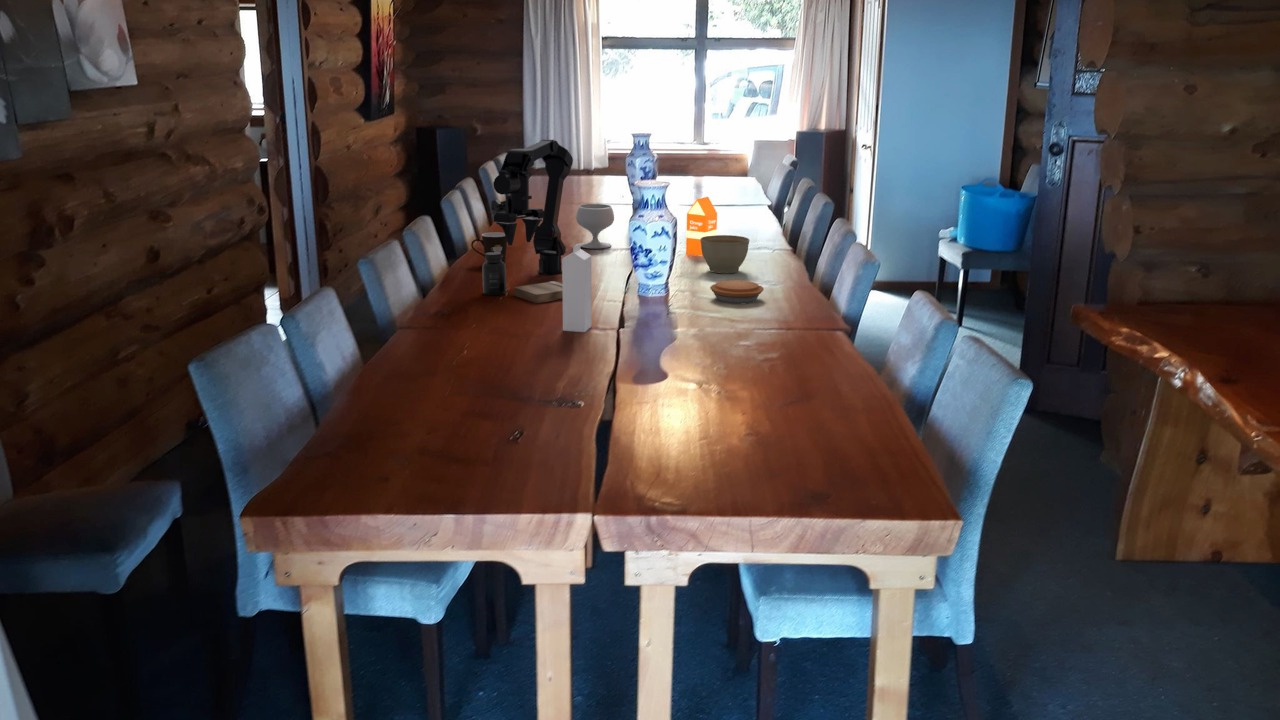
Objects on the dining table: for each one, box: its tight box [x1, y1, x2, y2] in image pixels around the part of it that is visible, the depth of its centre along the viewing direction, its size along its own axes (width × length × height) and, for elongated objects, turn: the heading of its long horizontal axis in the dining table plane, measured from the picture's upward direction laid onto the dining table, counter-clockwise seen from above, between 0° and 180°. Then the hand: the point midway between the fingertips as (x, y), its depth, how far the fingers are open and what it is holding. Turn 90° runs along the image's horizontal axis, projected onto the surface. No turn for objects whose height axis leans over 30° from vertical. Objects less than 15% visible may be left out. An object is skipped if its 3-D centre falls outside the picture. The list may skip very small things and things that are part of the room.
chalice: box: [575, 203, 615, 250], centre depth 377 cm, size 14×14×15 cm
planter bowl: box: [700, 234, 750, 275], centre depth 337 cm, size 16×16×11 cm
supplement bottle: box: [481, 252, 507, 296], centre depth 302 cm, size 7×7×12 cm
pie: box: [709, 279, 765, 305], centre depth 299 cm, size 15×16×5 cm
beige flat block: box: [513, 280, 563, 304], centre depth 300 cm, size 14×12×3 cm
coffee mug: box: [470, 232, 508, 265], centre depth 344 cm, size 12×9×10 cm
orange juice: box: [685, 196, 718, 257], centre depth 365 cm, size 8×9×20 cm
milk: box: [561, 242, 592, 333], centre depth 262 cm, size 6×6×22 cm
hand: (519, 243), depth 312 cm, fingers open, 9 cm apart
